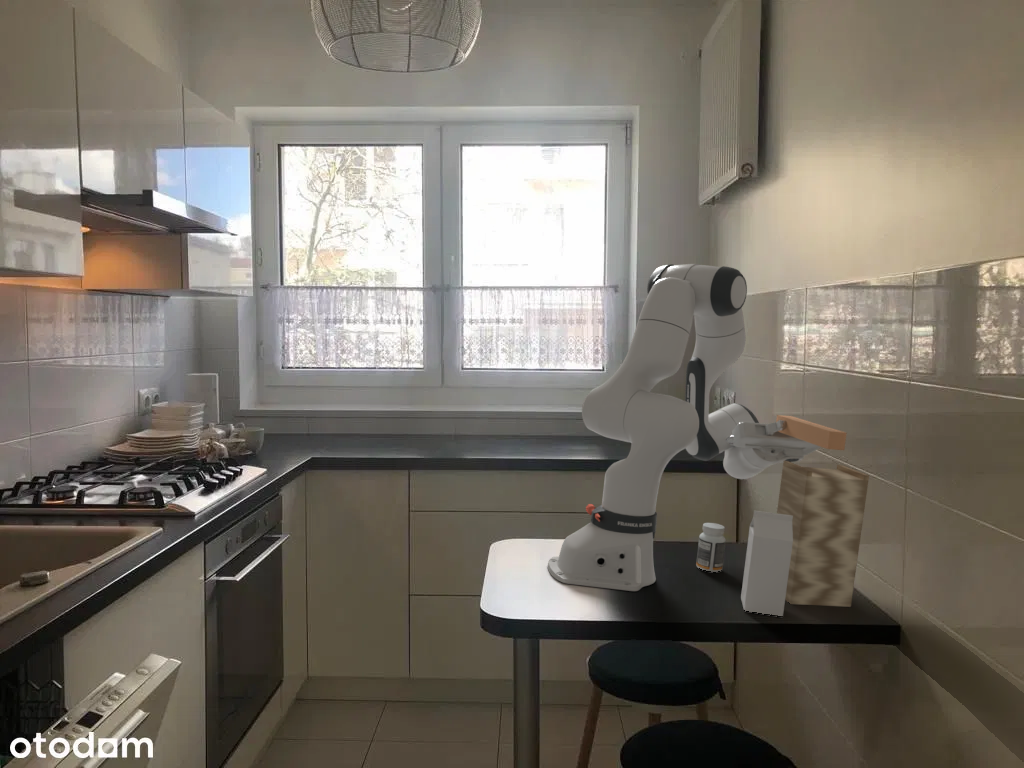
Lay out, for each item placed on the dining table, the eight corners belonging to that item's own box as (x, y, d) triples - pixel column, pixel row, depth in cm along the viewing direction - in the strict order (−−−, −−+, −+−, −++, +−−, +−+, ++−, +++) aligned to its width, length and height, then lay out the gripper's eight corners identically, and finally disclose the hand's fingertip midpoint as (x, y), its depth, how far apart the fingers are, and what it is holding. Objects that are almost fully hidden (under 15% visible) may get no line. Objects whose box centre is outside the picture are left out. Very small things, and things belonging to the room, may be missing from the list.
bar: (827, 449, 149) (829, 431, 149) (775, 430, 171) (777, 414, 170) (844, 450, 149) (846, 432, 149) (789, 431, 171) (791, 416, 171)
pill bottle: (717, 565, 173) (722, 522, 172) (725, 574, 168) (730, 530, 167) (692, 563, 173) (697, 520, 172) (699, 572, 168) (704, 528, 167)
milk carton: (782, 618, 145) (795, 520, 143) (743, 612, 146) (756, 515, 144) (777, 605, 152) (789, 511, 150) (740, 599, 153) (752, 506, 151)
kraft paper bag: (790, 604, 153) (807, 471, 150) (767, 585, 163) (783, 460, 160) (850, 606, 155) (869, 475, 152) (824, 588, 165) (841, 464, 162)
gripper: (721, 429, 178) (747, 407, 166) (803, 436, 181) (835, 414, 169) (723, 455, 176) (750, 434, 163) (807, 461, 179) (839, 441, 166)
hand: (794, 424), depth 166 cm, fingers closed on bar, 3 cm apart
